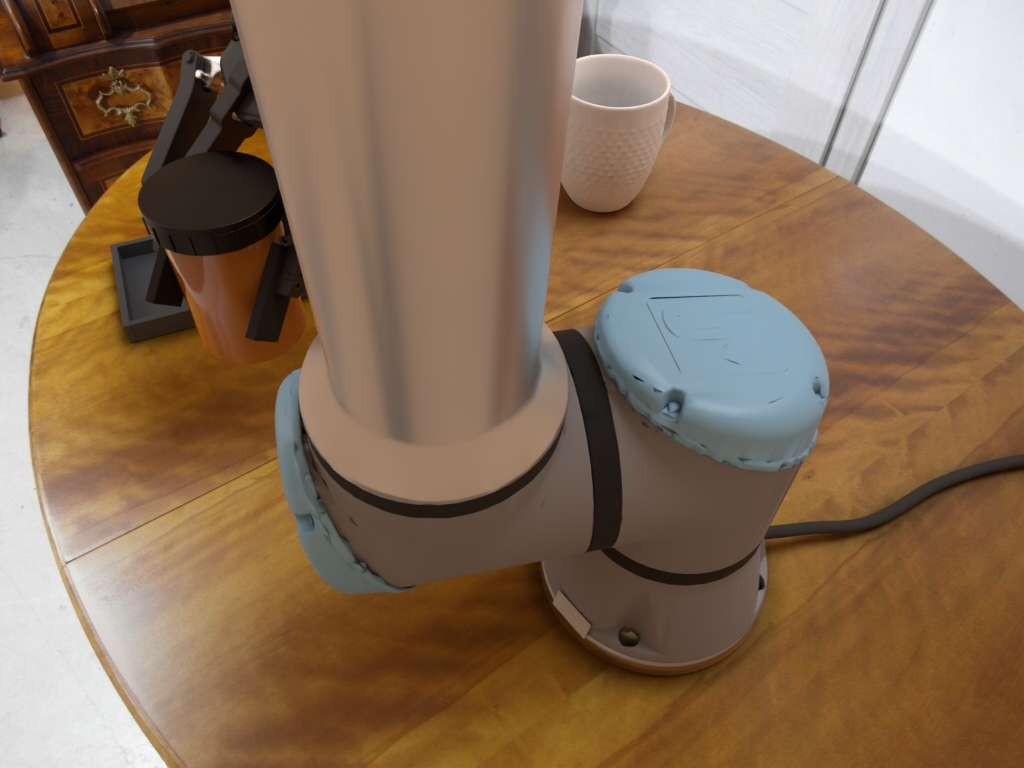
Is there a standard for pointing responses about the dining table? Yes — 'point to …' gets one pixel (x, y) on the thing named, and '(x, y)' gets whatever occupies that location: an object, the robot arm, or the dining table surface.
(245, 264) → the jar
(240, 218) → the jar lid
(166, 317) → the tray
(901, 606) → the dining table surface
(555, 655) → the dining table surface
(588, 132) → the mug
